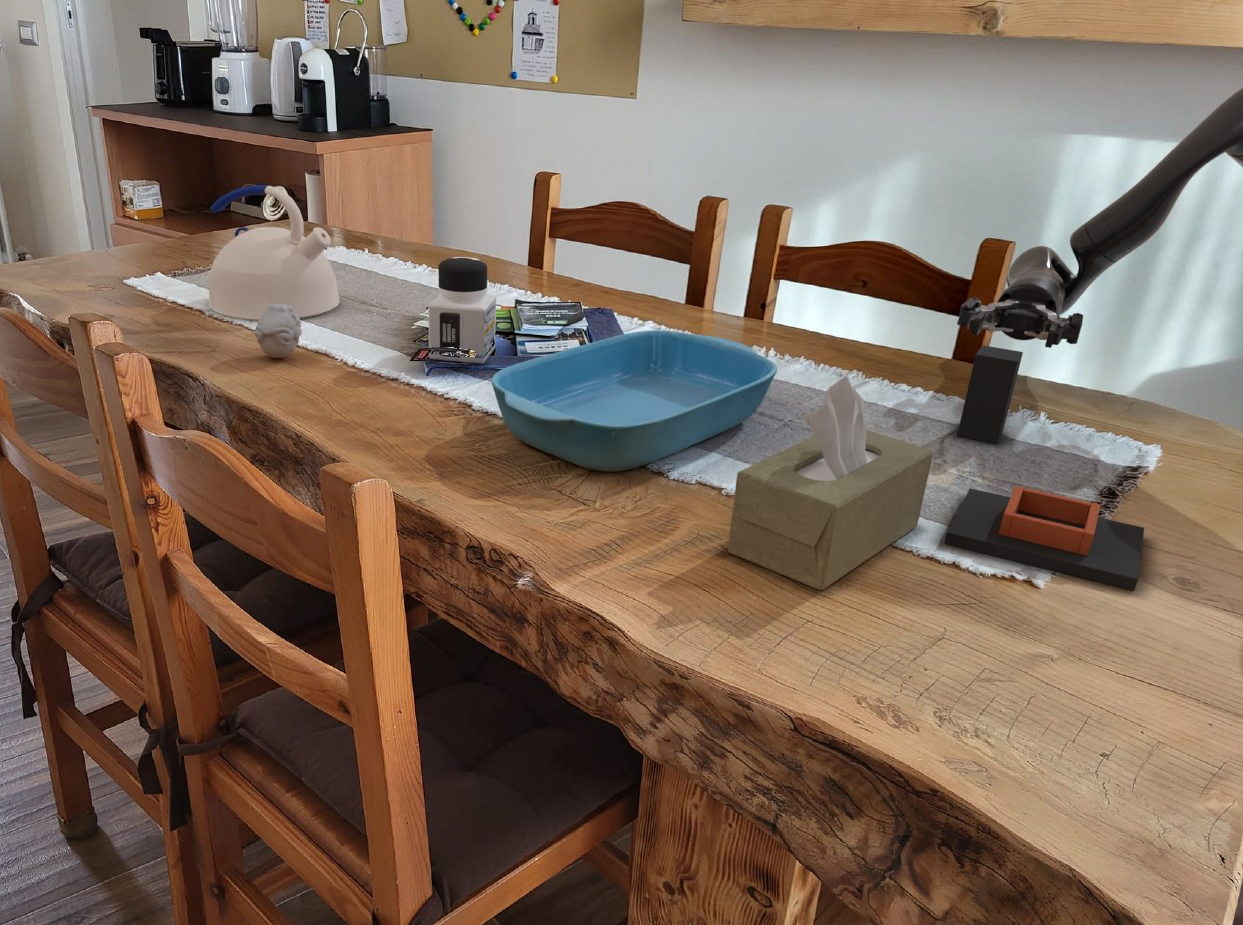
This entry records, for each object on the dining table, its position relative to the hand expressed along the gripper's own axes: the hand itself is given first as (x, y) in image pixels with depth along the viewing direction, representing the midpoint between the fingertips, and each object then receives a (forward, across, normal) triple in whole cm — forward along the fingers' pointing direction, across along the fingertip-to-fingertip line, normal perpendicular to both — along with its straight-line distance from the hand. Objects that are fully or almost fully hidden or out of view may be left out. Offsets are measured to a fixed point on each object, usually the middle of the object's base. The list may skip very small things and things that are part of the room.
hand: (1012, 333), depth 127 cm
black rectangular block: (+10, 0, -10) cm, 14 cm away
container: (+20, +67, -10) cm, 71 cm away
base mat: (+36, -10, -10) cm, 39 cm away
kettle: (+16, +105, -10) cm, 107 cm away
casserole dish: (+32, +35, -10) cm, 48 cm away
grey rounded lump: (+36, +86, -10) cm, 94 cm away
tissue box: (+48, +8, -10) cm, 50 cm away
